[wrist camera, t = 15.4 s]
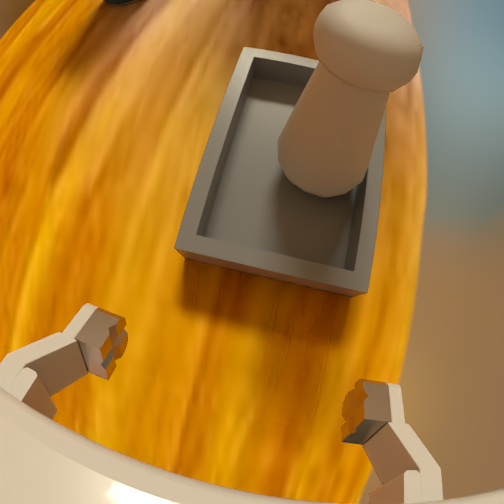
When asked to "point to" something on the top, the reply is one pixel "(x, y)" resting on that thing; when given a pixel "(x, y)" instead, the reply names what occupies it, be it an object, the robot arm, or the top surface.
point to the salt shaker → (346, 95)
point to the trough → (276, 191)
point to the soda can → (120, 2)
